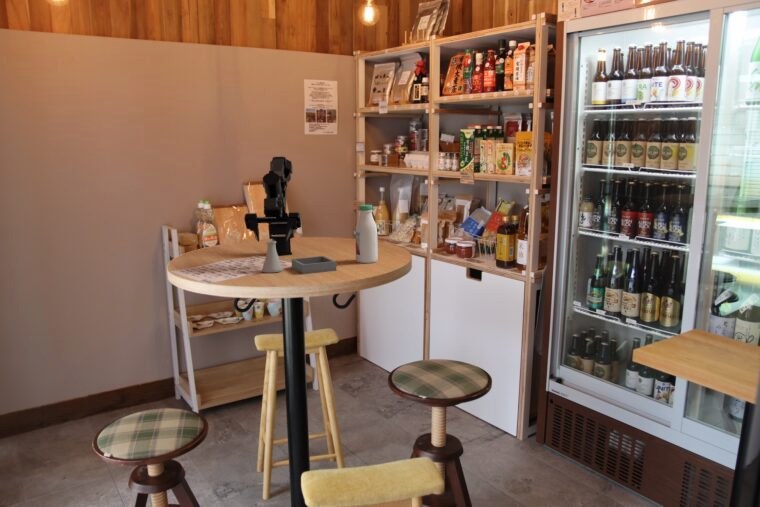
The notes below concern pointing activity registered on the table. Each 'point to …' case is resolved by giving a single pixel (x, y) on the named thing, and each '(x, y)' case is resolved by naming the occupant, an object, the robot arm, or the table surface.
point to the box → (313, 264)
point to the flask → (272, 259)
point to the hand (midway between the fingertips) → (272, 240)
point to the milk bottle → (366, 236)
